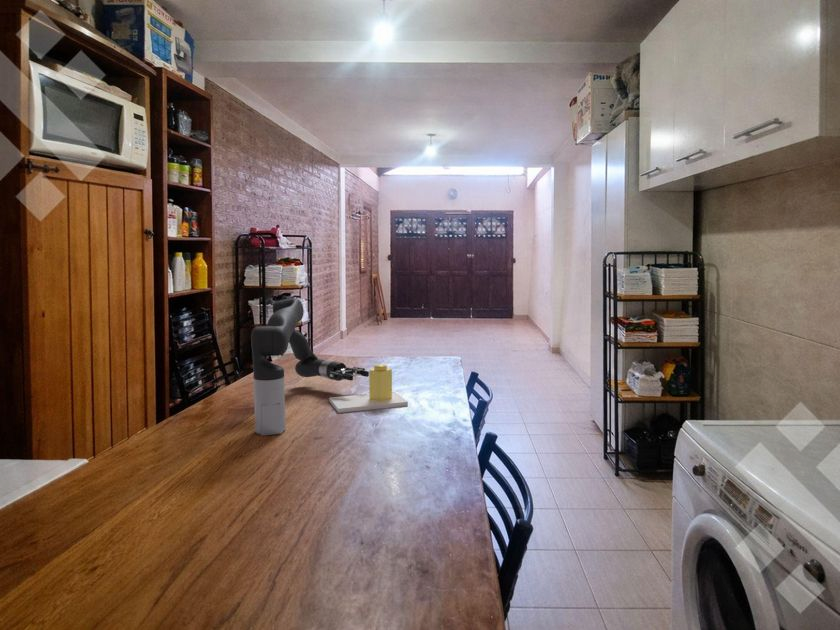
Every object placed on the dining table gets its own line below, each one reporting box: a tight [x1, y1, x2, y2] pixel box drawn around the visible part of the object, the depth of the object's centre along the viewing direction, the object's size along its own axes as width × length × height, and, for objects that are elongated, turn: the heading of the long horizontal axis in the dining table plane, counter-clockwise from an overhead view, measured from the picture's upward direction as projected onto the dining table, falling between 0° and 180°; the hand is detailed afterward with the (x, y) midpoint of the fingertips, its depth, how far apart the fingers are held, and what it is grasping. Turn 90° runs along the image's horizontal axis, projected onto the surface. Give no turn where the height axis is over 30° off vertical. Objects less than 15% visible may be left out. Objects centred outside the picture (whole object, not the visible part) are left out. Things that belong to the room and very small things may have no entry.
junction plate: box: [328, 391, 409, 414], centre depth 196 cm, size 16×26×8 cm, turn 111°
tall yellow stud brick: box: [368, 363, 393, 401], centre depth 198 cm, size 6×6×13 cm
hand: (360, 375), depth 204 cm, fingers open, 8 cm apart
